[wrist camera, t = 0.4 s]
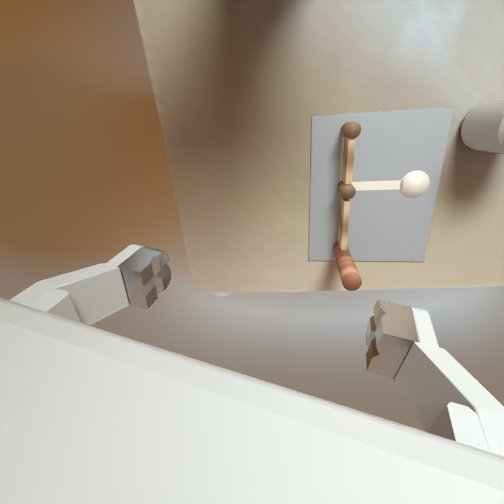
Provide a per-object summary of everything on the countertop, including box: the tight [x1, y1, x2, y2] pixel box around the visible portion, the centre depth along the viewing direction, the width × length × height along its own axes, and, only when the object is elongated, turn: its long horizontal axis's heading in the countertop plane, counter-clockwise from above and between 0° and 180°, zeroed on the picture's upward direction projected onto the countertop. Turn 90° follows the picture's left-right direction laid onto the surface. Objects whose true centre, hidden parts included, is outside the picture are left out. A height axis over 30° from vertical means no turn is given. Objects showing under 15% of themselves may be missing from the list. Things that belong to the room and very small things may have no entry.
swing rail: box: [333, 196, 362, 291], centre depth 48 cm, size 12×3×14 cm, turn 3°
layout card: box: [309, 107, 455, 262], centre depth 52 cm, size 27×22×1 cm
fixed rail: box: [337, 122, 361, 199], centre depth 48 cm, size 12×2×5 cm, turn 3°
